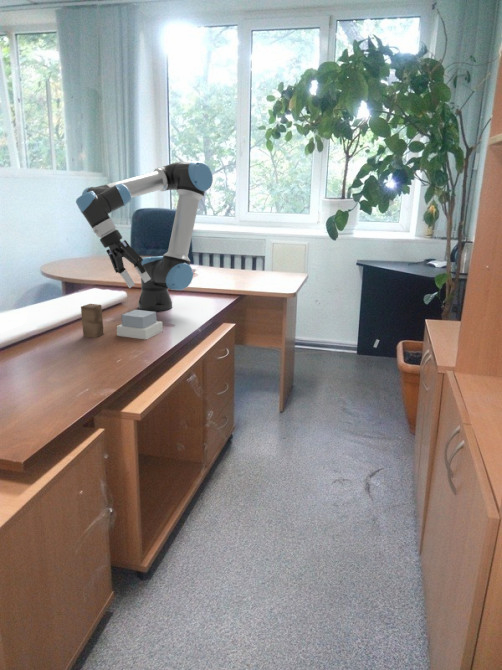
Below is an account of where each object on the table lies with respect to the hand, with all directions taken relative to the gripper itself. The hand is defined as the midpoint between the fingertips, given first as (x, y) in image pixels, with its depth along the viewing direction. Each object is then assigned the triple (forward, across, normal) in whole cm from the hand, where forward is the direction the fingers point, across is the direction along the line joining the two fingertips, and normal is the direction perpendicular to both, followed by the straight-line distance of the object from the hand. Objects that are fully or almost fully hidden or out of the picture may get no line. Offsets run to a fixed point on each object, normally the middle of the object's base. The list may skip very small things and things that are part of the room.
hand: (139, 283), depth 180 cm
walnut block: (+7, -6, -24) cm, 26 cm away
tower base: (+15, +1, -12) cm, 19 cm away
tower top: (+12, +2, -10) cm, 16 cm away
